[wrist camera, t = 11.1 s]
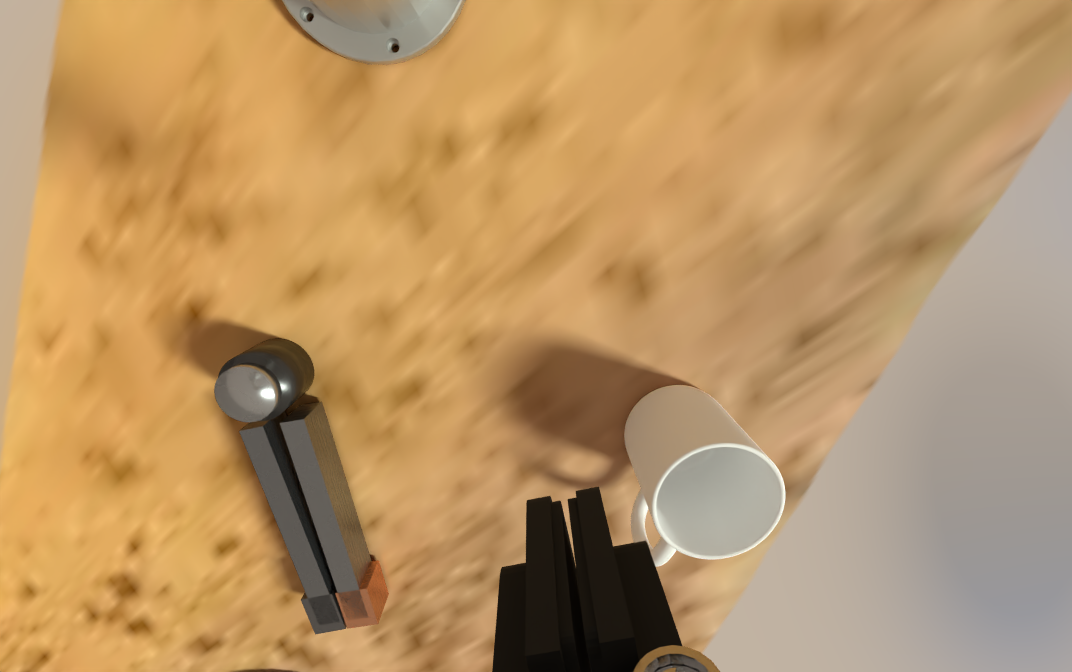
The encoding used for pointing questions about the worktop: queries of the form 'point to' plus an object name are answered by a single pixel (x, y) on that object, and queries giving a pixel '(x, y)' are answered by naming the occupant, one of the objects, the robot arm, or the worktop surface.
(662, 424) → the cup
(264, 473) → the base
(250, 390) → the tong arm
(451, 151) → the worktop surface
